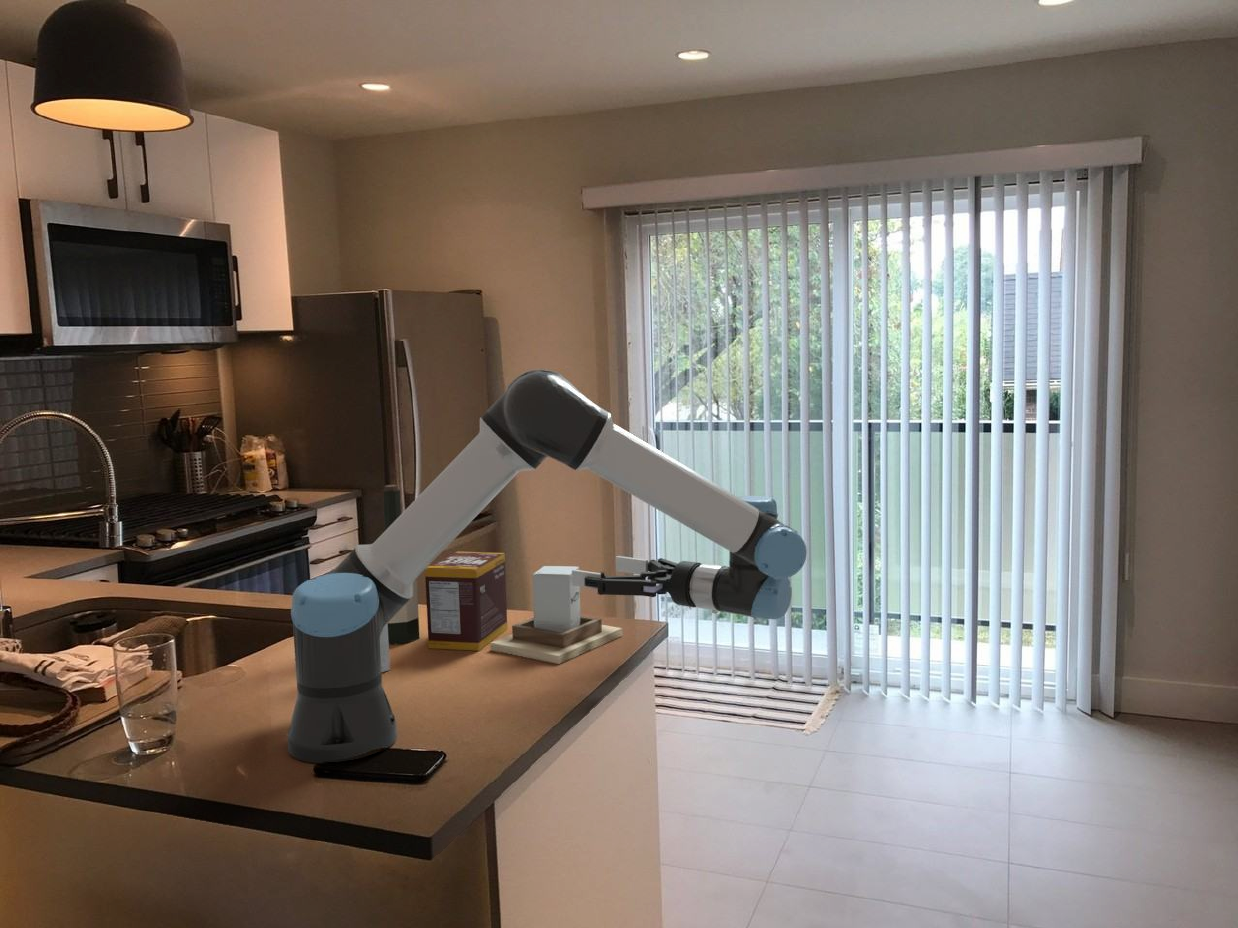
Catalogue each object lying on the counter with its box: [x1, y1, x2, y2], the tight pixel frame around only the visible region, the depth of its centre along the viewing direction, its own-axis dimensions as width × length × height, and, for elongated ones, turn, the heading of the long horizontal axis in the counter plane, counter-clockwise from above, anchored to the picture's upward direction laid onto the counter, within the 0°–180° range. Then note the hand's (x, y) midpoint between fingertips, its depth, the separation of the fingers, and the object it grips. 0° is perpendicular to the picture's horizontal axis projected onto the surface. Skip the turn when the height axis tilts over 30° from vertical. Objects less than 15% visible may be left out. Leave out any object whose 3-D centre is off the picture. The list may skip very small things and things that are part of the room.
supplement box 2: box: [532, 565, 581, 633], centre depth 188 cm, size 7×7×13 cm
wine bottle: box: [382, 484, 420, 646], centre depth 193 cm, size 8×8×30 cm
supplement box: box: [424, 551, 508, 652], centre depth 193 cm, size 10×15×16 cm
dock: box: [489, 615, 623, 665], centre depth 189 cm, size 20×16×4 cm
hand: (595, 570), depth 179 cm, fingers open, 13 cm apart
